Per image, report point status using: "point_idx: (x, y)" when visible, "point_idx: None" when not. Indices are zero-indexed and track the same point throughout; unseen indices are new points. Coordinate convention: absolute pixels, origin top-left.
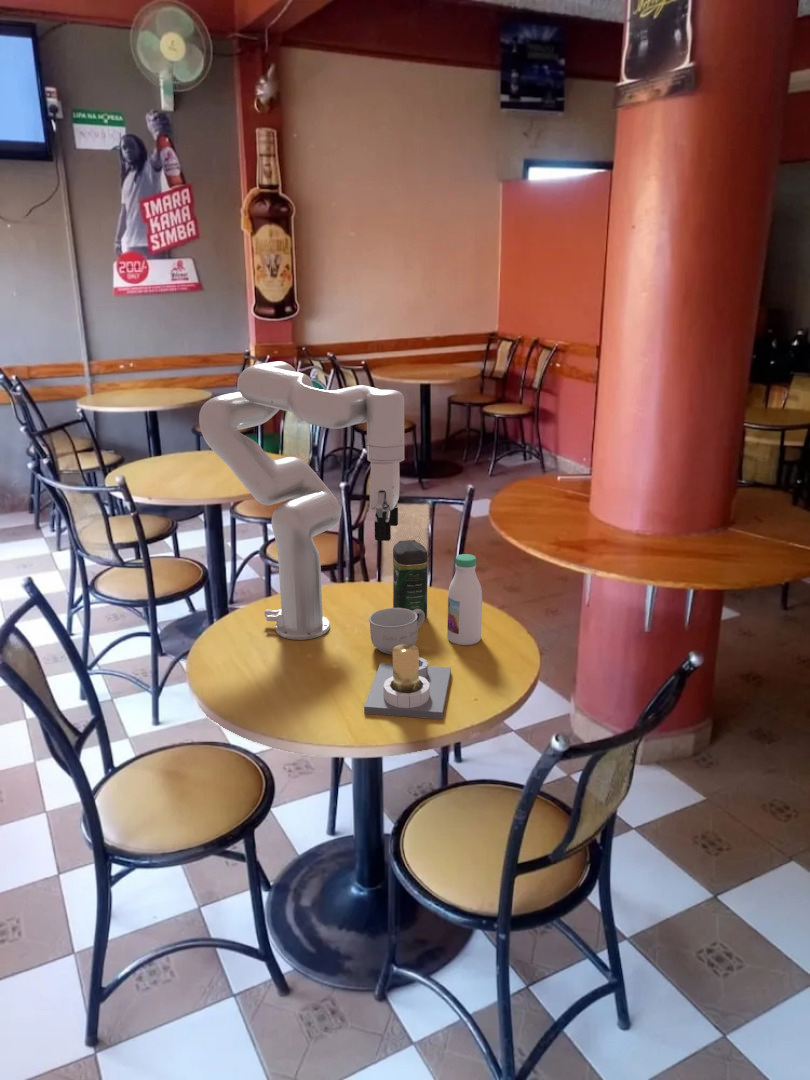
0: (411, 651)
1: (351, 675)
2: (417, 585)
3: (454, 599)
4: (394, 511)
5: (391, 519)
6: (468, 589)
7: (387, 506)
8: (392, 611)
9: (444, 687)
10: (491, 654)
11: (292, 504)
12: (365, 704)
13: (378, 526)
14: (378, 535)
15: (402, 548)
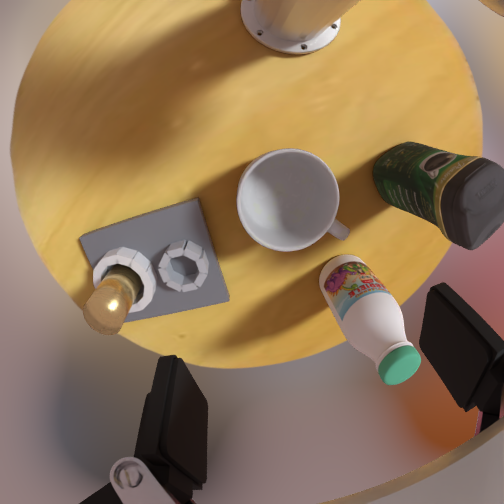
0: (103, 327)
1: (160, 164)
2: (419, 210)
3: (347, 313)
4: (457, 392)
5: (438, 347)
6: (354, 346)
7: (491, 381)
8: (330, 181)
9: (172, 310)
10: (303, 320)
11: None
12: (83, 237)
13: (139, 444)
14: (147, 397)
15: (481, 196)
